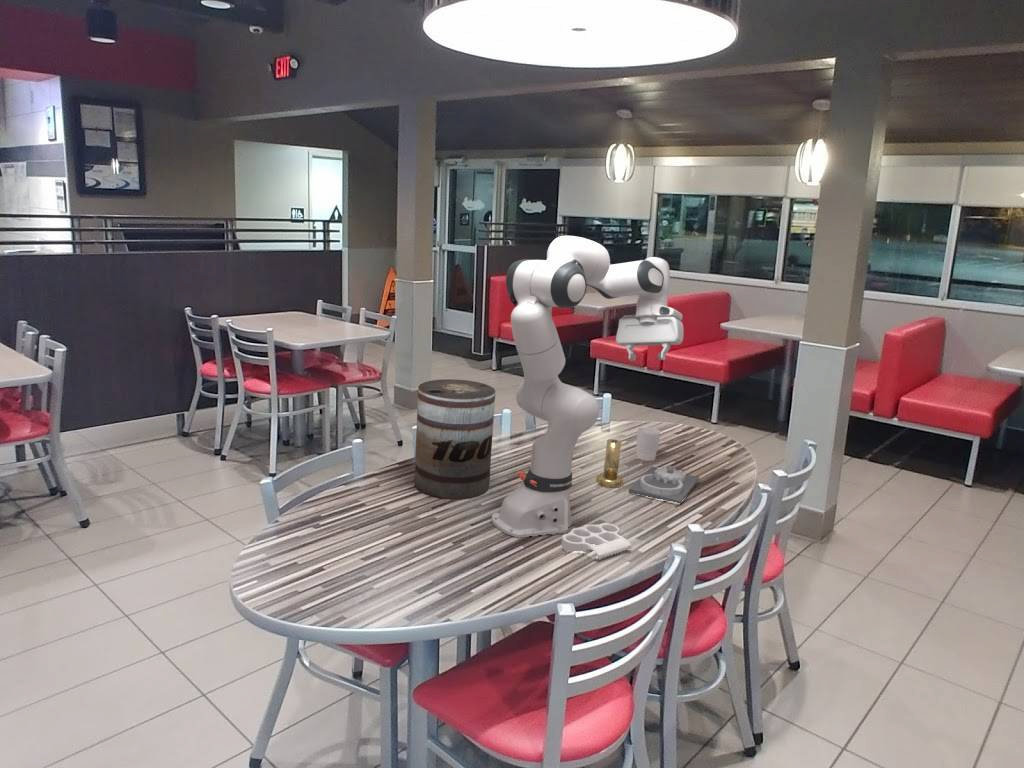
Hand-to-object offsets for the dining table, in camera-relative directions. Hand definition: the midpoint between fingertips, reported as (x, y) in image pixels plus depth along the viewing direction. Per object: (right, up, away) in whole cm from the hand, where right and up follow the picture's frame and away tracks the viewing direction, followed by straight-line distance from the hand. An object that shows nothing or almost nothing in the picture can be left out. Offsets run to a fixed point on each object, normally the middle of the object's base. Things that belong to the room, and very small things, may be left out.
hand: (646, 359), depth 218 cm
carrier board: (+9, -40, +20) cm, 45 cm away
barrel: (-57, -38, +10) cm, 69 cm away
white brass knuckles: (-18, -49, -23) cm, 57 cm away
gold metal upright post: (-8, -38, +20) cm, 44 cm away
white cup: (+8, -33, +47) cm, 58 cm away
